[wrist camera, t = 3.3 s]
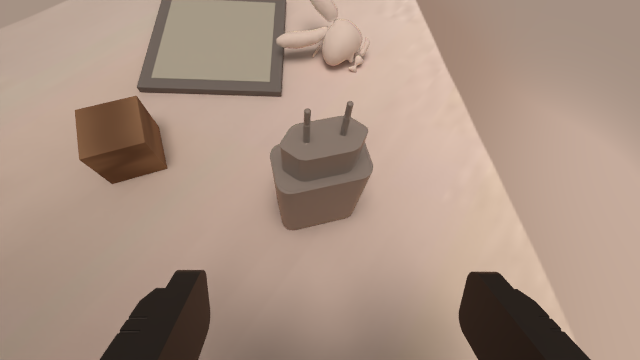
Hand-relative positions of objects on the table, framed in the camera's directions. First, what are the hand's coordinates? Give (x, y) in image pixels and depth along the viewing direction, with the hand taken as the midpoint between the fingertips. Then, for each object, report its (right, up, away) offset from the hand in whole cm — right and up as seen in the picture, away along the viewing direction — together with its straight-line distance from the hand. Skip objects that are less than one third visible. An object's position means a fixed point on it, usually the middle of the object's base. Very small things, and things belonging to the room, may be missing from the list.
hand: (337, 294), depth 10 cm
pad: (-10, +16, +20) cm, 28 cm away
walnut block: (-15, +6, +15) cm, 22 cm away
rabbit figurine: (-1, +16, +21) cm, 26 cm away
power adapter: (-1, +2, +14) cm, 15 cm away
